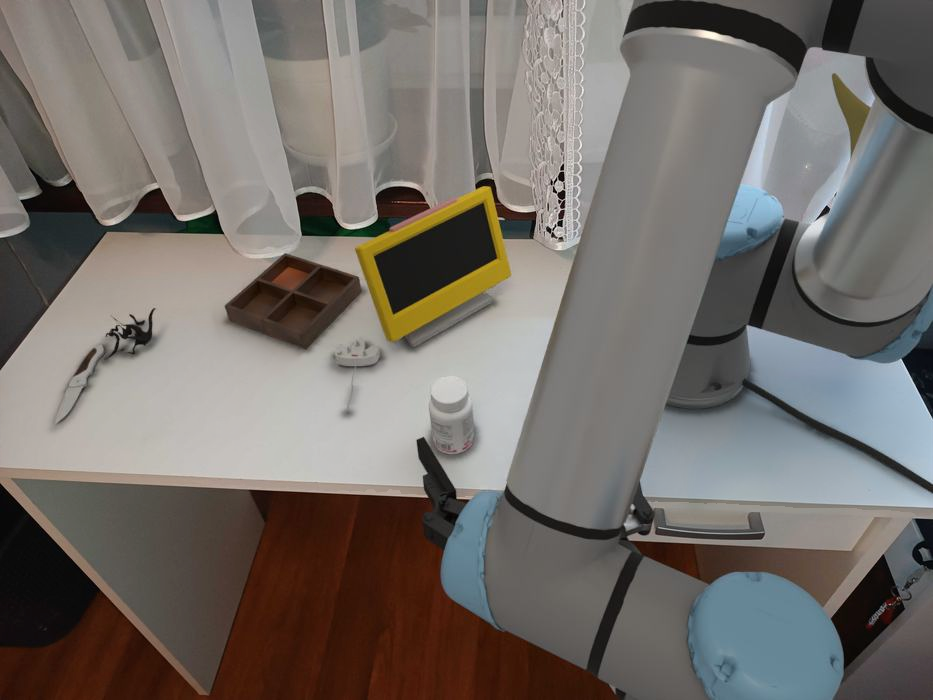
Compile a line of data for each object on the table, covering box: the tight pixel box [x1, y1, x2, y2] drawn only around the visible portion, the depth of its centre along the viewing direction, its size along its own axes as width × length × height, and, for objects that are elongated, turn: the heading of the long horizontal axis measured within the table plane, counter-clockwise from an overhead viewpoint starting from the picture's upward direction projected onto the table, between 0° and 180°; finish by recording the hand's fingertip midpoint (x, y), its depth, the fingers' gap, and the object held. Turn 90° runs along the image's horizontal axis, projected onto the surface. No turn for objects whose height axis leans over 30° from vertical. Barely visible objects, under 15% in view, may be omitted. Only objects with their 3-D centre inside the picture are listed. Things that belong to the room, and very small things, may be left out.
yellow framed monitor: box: [354, 185, 512, 349], centre depth 91 cm, size 20×8×16 cm, turn 129°
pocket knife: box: [54, 343, 105, 424], centre depth 89 cm, size 14×1×2 cm
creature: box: [104, 307, 157, 361], centre depth 93 cm, size 8×5×8 cm
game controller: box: [334, 337, 382, 414], centre depth 88 cm, size 6×12×3 cm, turn 16°
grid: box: [224, 252, 363, 350], centre depth 98 cm, size 13×13×3 cm
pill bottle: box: [428, 375, 475, 455], centre depth 78 cm, size 5×5×8 cm
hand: (486, 419), depth 66 cm, fingers open, 13 cm apart
